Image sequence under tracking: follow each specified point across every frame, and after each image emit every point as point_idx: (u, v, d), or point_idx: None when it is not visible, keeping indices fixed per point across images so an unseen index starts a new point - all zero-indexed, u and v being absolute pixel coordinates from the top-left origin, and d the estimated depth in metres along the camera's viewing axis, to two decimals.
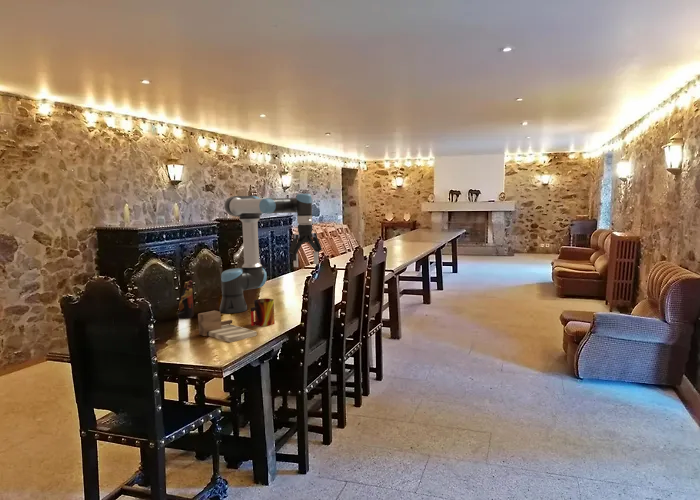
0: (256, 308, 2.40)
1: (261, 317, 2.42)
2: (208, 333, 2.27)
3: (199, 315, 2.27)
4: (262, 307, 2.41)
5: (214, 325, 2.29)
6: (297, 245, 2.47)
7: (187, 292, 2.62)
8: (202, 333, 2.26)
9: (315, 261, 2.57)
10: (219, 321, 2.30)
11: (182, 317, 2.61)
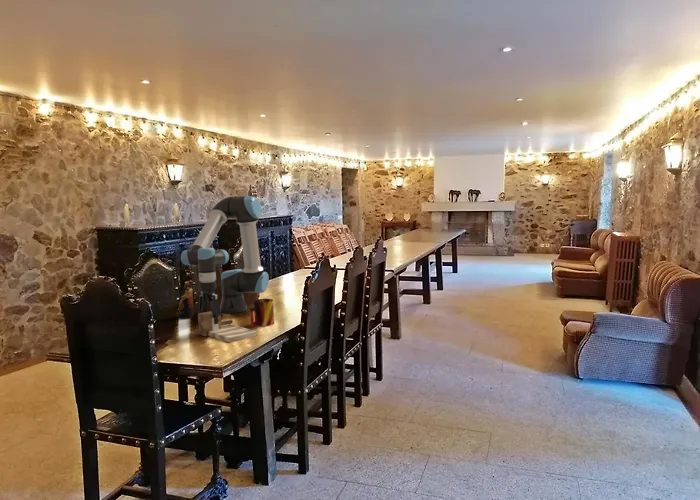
0: (256, 308, 2.40)
1: (261, 317, 2.41)
2: (208, 333, 2.27)
3: (199, 315, 2.27)
4: (261, 307, 2.41)
5: None
6: None
7: (187, 292, 2.62)
8: (202, 333, 2.26)
9: None
10: (219, 321, 2.30)
11: (182, 317, 2.61)
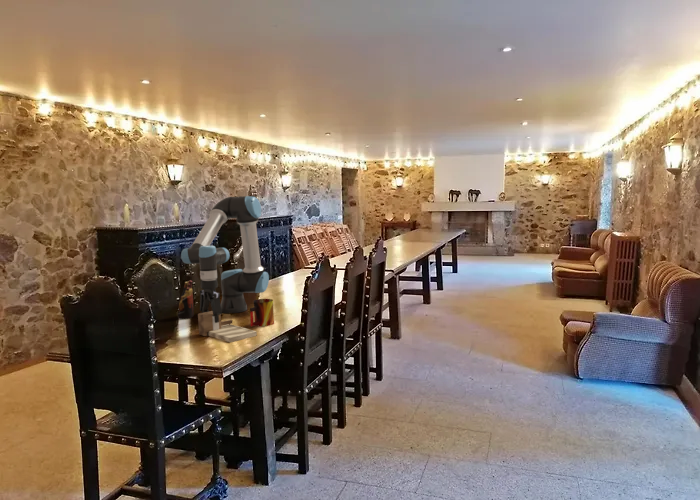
0: (255, 308, 2.40)
1: (260, 317, 2.41)
2: (208, 333, 2.27)
3: (199, 315, 2.27)
4: (261, 308, 2.41)
5: None
6: None
7: (187, 292, 2.62)
8: (202, 333, 2.26)
9: None
10: (219, 321, 2.30)
11: (182, 317, 2.61)
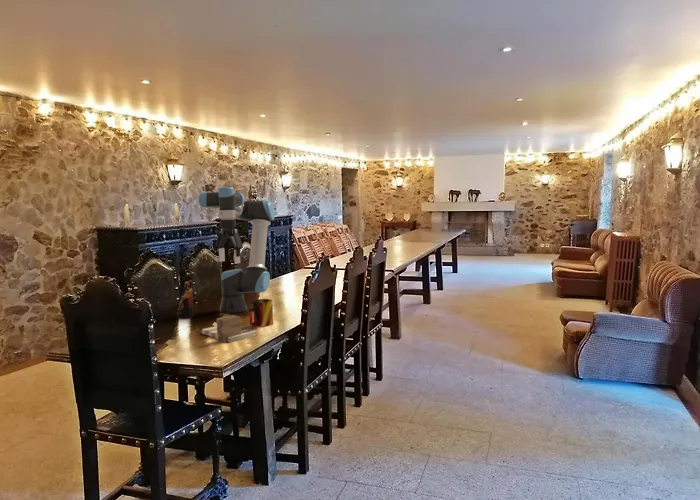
0: (254, 308, 2.39)
1: (260, 318, 2.41)
2: (208, 333, 2.27)
3: (218, 320, 2.16)
4: (260, 308, 2.40)
5: (234, 331, 2.18)
6: None
7: (187, 292, 2.62)
8: (221, 339, 2.15)
9: None
10: (239, 326, 2.19)
11: (182, 317, 2.61)
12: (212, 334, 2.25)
